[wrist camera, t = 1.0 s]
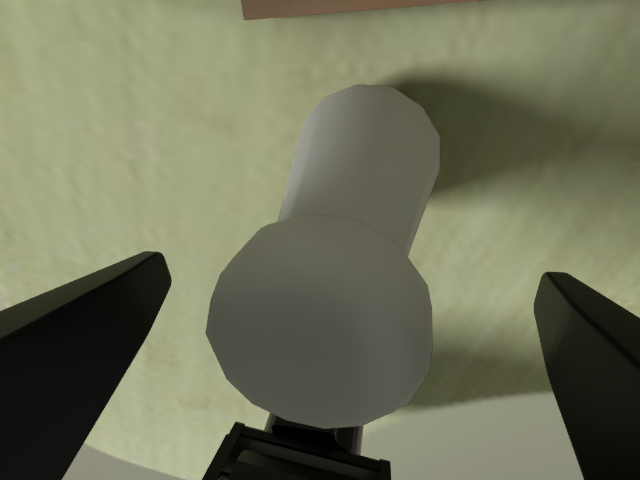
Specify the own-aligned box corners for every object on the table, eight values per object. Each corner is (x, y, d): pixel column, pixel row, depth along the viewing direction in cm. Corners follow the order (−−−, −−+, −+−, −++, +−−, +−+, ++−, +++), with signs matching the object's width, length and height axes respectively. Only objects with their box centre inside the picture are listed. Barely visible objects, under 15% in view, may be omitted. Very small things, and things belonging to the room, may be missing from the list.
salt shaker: (450, 80, 15) (558, 269, 4) (423, 206, 18) (447, 499, 7) (309, 69, 16) (106, 206, 5) (306, 192, 19) (175, 437, 8)
